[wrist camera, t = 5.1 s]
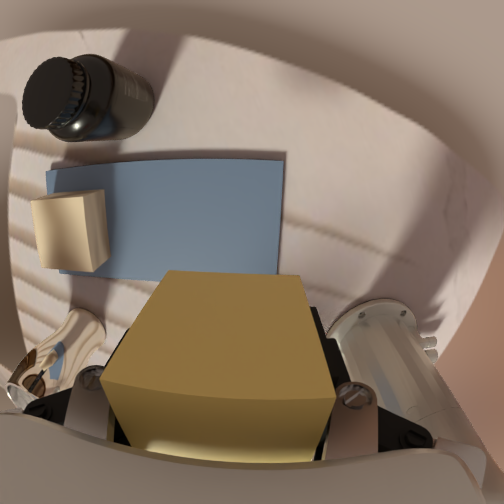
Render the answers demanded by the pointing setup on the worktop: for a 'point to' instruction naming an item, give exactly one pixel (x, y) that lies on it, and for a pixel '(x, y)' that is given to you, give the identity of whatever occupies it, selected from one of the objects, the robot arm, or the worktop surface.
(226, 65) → the worktop surface
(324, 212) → the worktop surface
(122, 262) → the board
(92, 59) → the supplement bottle
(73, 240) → the beech base block
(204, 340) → the mustard block
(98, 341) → the beer glass
